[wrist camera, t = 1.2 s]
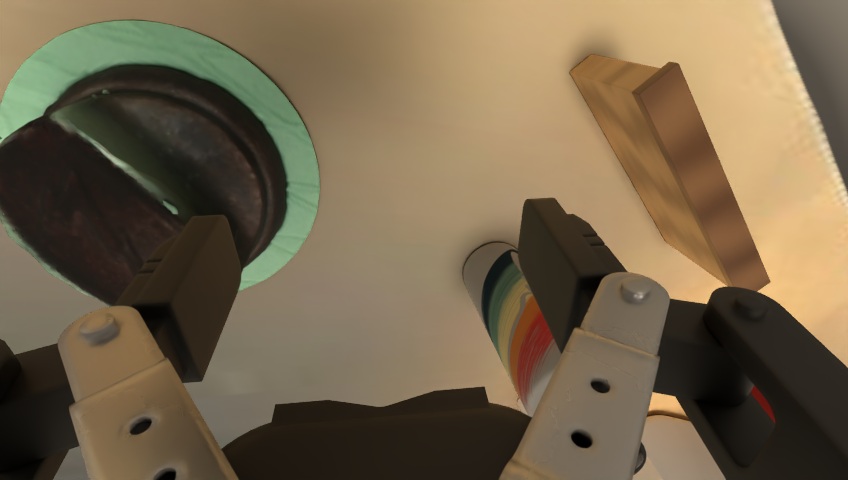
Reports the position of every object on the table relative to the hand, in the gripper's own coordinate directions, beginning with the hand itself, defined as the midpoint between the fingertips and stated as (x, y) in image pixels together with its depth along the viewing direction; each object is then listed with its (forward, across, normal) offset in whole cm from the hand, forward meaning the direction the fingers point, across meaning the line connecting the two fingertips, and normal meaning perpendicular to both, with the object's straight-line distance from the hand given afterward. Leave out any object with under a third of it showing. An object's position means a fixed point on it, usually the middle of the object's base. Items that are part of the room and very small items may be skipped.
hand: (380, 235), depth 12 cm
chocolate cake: (+20, +15, +7) cm, 26 cm away
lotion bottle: (+21, -9, +17) cm, 29 cm away
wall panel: (+23, -21, +8) cm, 32 cm away
